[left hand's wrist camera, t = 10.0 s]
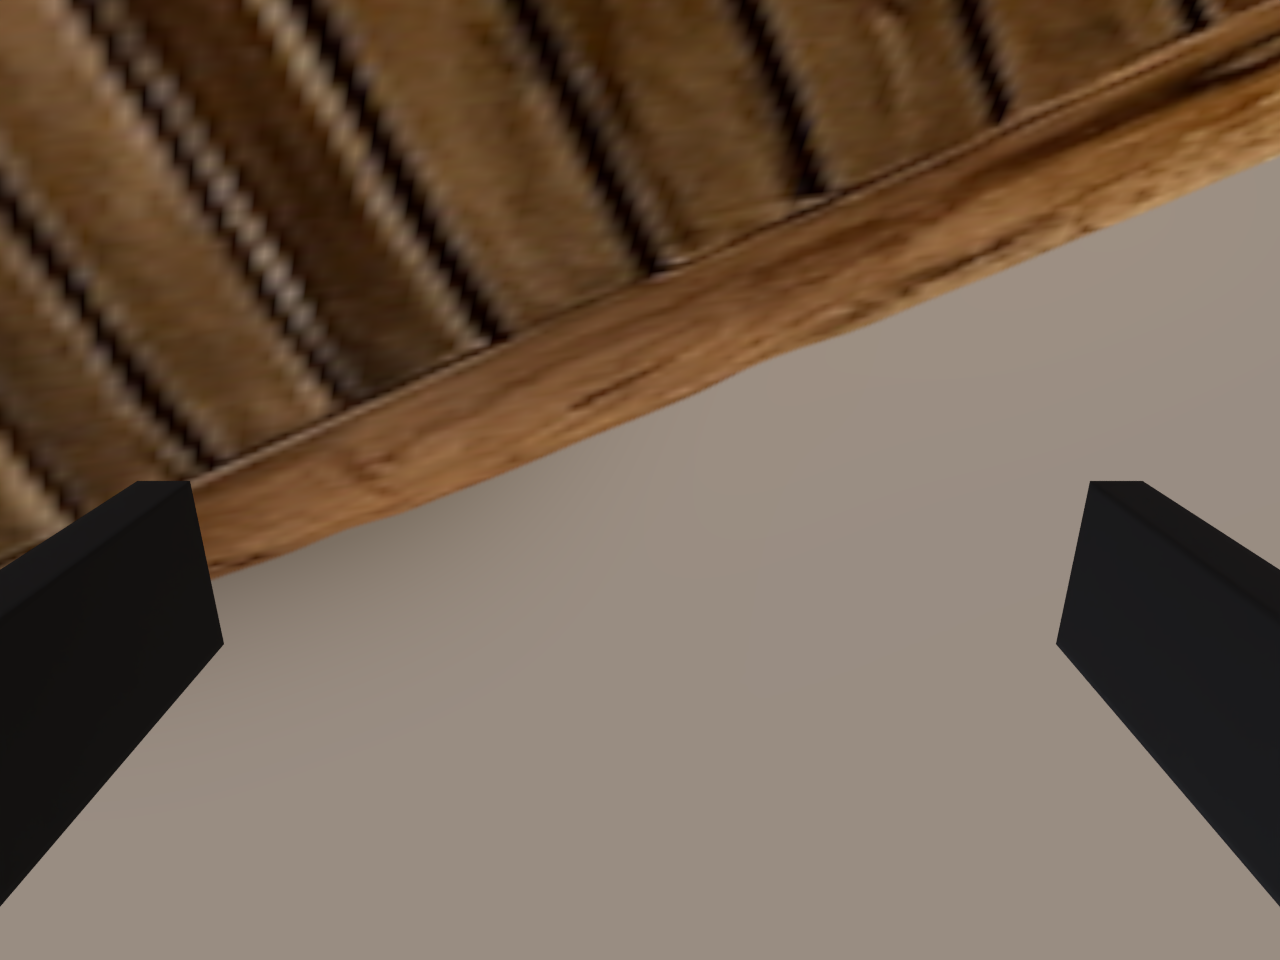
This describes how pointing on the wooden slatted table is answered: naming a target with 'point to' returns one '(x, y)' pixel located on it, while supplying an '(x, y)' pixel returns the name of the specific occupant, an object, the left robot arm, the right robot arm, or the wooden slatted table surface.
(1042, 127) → the wooden slatted table surface
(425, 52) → the wooden slatted table surface
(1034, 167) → the wooden slatted table surface
